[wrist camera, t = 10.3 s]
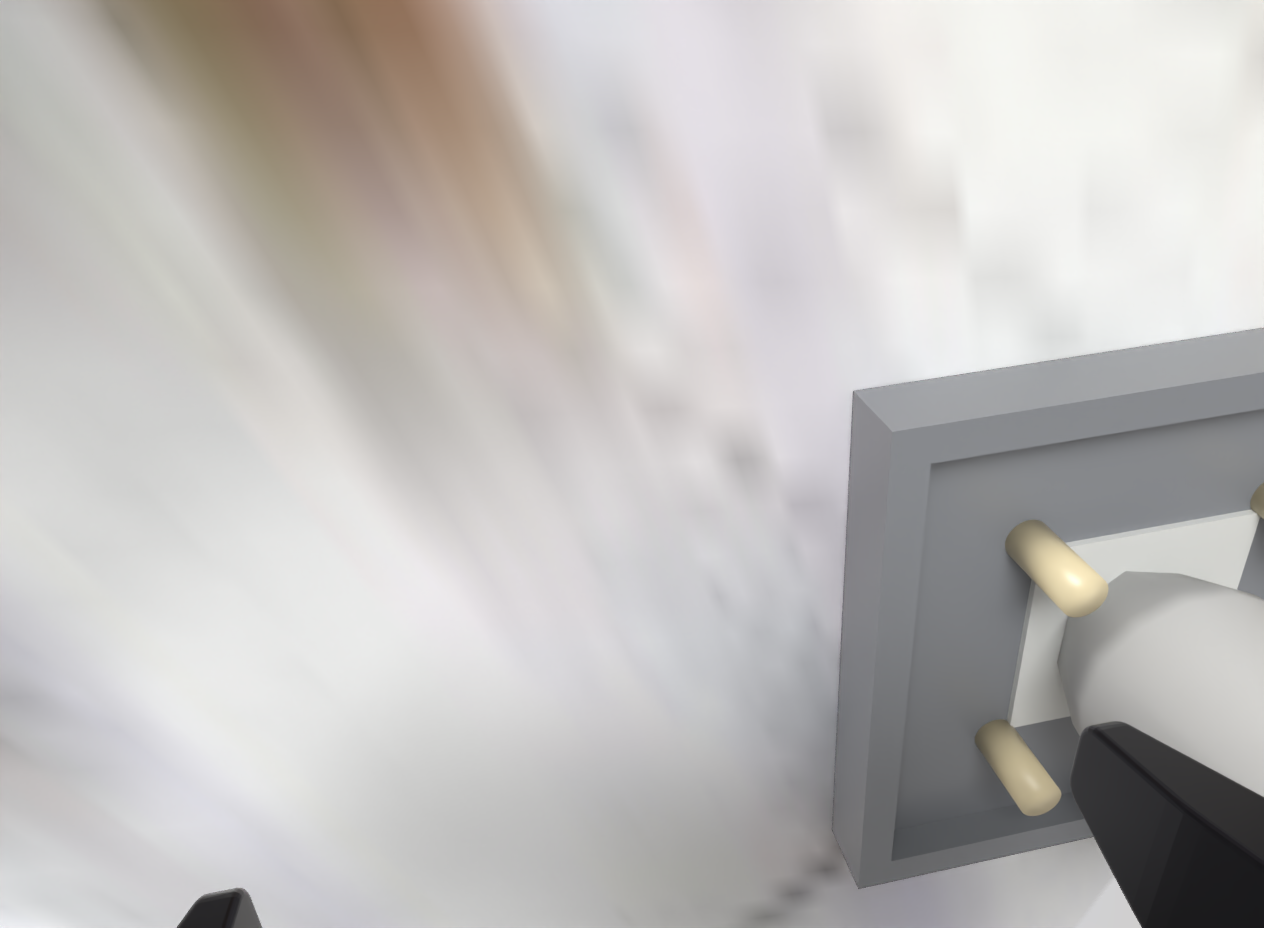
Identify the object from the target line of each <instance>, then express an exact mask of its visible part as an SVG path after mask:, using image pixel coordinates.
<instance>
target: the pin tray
mask: <svg viewBox="0 0 1264 928" xmlns="http://www.w3.org/2000/svg"><path fill="white" fill-rule="evenodd" d="M1125 571H1132V572H1155V573H1179V574H1183V575H1187V576H1191V577H1194V578H1198V579H1201V580H1205V581H1208V582H1212V583H1215V584H1219V585H1222V586H1226V587H1229V588H1233V589H1236V590H1240V591H1243V592H1247V593H1250V594H1254V595H1256V596H1258V597H1260V598H1262V599H1263V600H1264V328H1259V329H1253V330H1246V331H1240V332H1233V333H1227V334H1220V335H1214V336H1207V337H1201V338H1194V339H1188V340H1181V341H1175V342H1168V343H1162V344H1155V345H1149V346H1142V347H1136V348H1129V349H1123V350H1116V351H1110V352H1103V353H1097V354H1090V355H1084V356H1077V357H1071V358H1064V359H1058V360H1051V361H1045V362H1038V363H1032V364H1025V365H1019V366H1012V367H1006V368H999V369H993V370H986V371H980V372H973V373H967V374H960V375H954V376H947V377H941V378H934V379H928V380H921V381H915V382H908V383H902V384H895V385H889V386H882V387H876V388H869V389H863V390H856V391H854V393H853V413H852V433H851V454H850V474H849V495H848V515H847V536H846V556H845V577H844V597H843V618H842V638H841V659H840V679H839V699H838V720H837V740H836V761H835V781H834V802H833V822H832V831H833V833H834V836H835V838H836V840H837V842H838V845H839V847H840V849H841V851H842V853H843V856H844V858H845V860H846V862H847V865H848V867H849V869H850V871H851V874H852V876H853V878H854V880H855V882H856V885H857V887H858V889H861V888H866V887H870V886H875V885H879V884H884V883H888V882H893V881H897V880H901V879H906V878H910V877H915V876H919V875H924V874H928V873H933V872H937V871H942V870H946V869H951V868H955V867H960V866H964V865H969V864H973V863H978V862H982V861H987V860H991V859H996V858H1000V857H1005V856H1009V855H1014V854H1018V853H1023V852H1027V851H1032V850H1036V849H1041V848H1045V847H1050V846H1054V845H1059V844H1063V843H1068V842H1072V841H1077V840H1081V839H1086V838H1090V837H1093V835H1092V833H1091V831H1090V829H1089V827H1088V825H1087V823H1086V821H1085V819H1084V817H1083V816H1082V814H1081V812H1080V810H1079V808H1078V806H1077V804H1076V802H1075V800H1074V798H1073V795H1072V792H1071V787H1070V774H1071V770H1072V766H1073V762H1074V758H1075V754H1076V750H1077V746H1078V742H1079V738H1080V736H1079V734H1078V732H1077V731H1076V729H1075V727H1074V725H1073V724H1072V720H1071V716H1070V712H1069V708H1068V704H1067V700H1066V696H1065V692H1064V688H1063V684H1062V680H1061V676H1060V672H1059V668H1058V664H1057V661H1058V657H1059V653H1060V648H1061V644H1062V640H1063V636H1064V632H1065V627H1066V623H1067V619H1068V616H1069V617H1083V616H1086V615H1088V614H1090V613H1092V612H1094V611H1095V610H1096V609H1098V608H1099V607H1100V606H1101V605H1102V604H1103V602H1104V601H1105V599H1106V597H1107V595H1108V583H1110V582H1111V581H1112V580H1114V579H1115V578H1116V577H1118V576H1119V575H1121V574H1122V573H1123V572H1125Z"/></svg>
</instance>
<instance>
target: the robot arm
mask: <svg viewBox="0 0 1264 928" xmlns="http://www.w3.org/2000/svg"><path fill="white" fill-rule="evenodd" d="M1070 787H1071V792H1072V795H1073V798H1074V800H1075V802H1076V804H1077V806H1078V808H1079V810H1080V812H1081V814H1082V816H1083V817H1084V819H1085V821H1086V823H1087V825H1088V827H1089V829H1090V831H1091V833H1092V835H1093V837H1094V838H1095V840H1096V842H1097V844H1098V846H1099V848H1100V850H1101V852H1102V854H1103V856H1104V858H1105V859H1106V861H1107V863H1108V865H1109V867H1110V869H1111V871H1112V873H1113V875H1114V877H1115V878H1116V880H1117V882H1118V884H1119V886H1120V888H1121V890H1122V892H1123V894H1124V896H1125V898H1126V899H1127V901H1128V903H1129V905H1130V907H1131V909H1132V911H1133V913H1134V914H1135V916H1136V918H1137V920H1138V921H1139V923H1140V925H1141V927H1142V928H1264V797H1263V796H1261V795H1259V794H1258V793H1256V792H1254V791H1252V790H1250V789H1248V788H1246V787H1245V786H1243V785H1241V784H1239V783H1237V782H1235V781H1233V780H1231V779H1230V778H1228V777H1226V776H1224V775H1222V774H1220V773H1218V772H1217V771H1215V770H1213V769H1211V768H1209V767H1207V766H1205V765H1204V764H1202V763H1200V762H1198V761H1196V760H1194V759H1192V758H1191V757H1189V756H1187V755H1185V754H1183V753H1181V752H1179V751H1178V750H1176V749H1174V748H1172V747H1170V746H1168V745H1166V744H1165V743H1163V742H1161V741H1159V740H1157V739H1155V738H1153V737H1152V736H1150V735H1148V734H1146V733H1144V732H1142V731H1140V730H1138V729H1137V728H1135V727H1133V726H1131V725H1129V724H1127V723H1124V722H1121V721H1111V722H1106V723H1101V724H1095V725H1090V726H1088V727H1086V728H1085V729H1084V730H1083V731H1082V732H1081V735H1080V738H1079V742H1078V746H1077V750H1076V754H1075V758H1074V762H1073V766H1072V770H1071V774H1070ZM177 928H262V926H261V923H260V921H259V918H258V916H257V913H256V910H255V908H254V905H253V903H252V900H251V897H250V895H249V894H248V892H247V891H246V890H245V889H243V888H234V889H229V890H224V891H218V892H213V893H209V894H206V895H203V896H202V897H200V898H199V899H198V900H197V901H196V902H195V903H194V904H193V906H192V907H191V908H190V910H189V911H188V913H187V914H186V915H185V917H184V918H183V919H182V921H181V922H180V924H179V925H178V926H177Z"/></svg>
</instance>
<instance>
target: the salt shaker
mask: <svg viewBox="0 0 1264 928" xmlns="http://www.w3.org/2000/svg"><path fill="white" fill-rule="evenodd" d="M1057 664H1058V668H1059V672H1060V676H1061V680H1062V684H1063V688H1064V692H1065V696H1066V700H1067V704H1068V708H1069V712H1070V716H1071V720H1072V724H1073V725H1074V727H1075V729H1076V731H1077V732H1078V734H1079V736H1080V735H1081V732H1082V731H1083V730H1084V729H1085V728H1086V727H1088V726H1090V725H1095V724H1101V723H1106V722H1111V721H1121V722H1124V723H1127V724H1129V725H1131V726H1133V727H1135V728H1137V729H1138V730H1140V731H1142V732H1144V733H1146V734H1148V735H1150V736H1152V737H1153V738H1155V739H1157V740H1159V741H1161V742H1163V743H1165V744H1166V745H1168V746H1170V747H1172V748H1174V749H1176V750H1178V751H1179V752H1181V753H1183V754H1185V755H1187V756H1189V757H1191V758H1192V759H1194V760H1196V761H1198V762H1200V763H1202V764H1204V765H1205V766H1207V767H1209V768H1211V769H1213V770H1215V771H1217V772H1218V773H1220V774H1222V775H1224V776H1226V777H1228V778H1230V779H1231V780H1233V781H1235V782H1237V783H1239V784H1241V785H1243V786H1245V787H1246V788H1248V789H1250V790H1252V791H1254V792H1256V793H1258V794H1259V795H1261V796H1263V797H1264V600H1263V599H1262V598H1260V597H1258V596H1256V595H1254V594H1250V593H1247V592H1243V591H1240V590H1236V589H1233V588H1229V587H1226V586H1222V585H1219V584H1215V583H1212V582H1208V581H1205V580H1201V579H1198V578H1194V577H1191V576H1187V575H1183V574H1179V573H1155V572H1132V571H1125V572H1123V573H1122V574H1121V575H1119V576H1118V577H1116V578H1115V579H1114V580H1112V581H1111V582H1110V583H1108V595H1107V597H1106V599H1105V601H1104V602H1103V604H1102V605H1101V606H1100V607H1099V608H1098V609H1096V610H1095V611H1094V612H1092V613H1090V614H1088V615H1086V616H1083V617H1069V616H1068V619H1067V623H1066V627H1065V632H1064V636H1063V640H1062V644H1061V648H1060V653H1059V657H1058V661H1057Z"/></svg>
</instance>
